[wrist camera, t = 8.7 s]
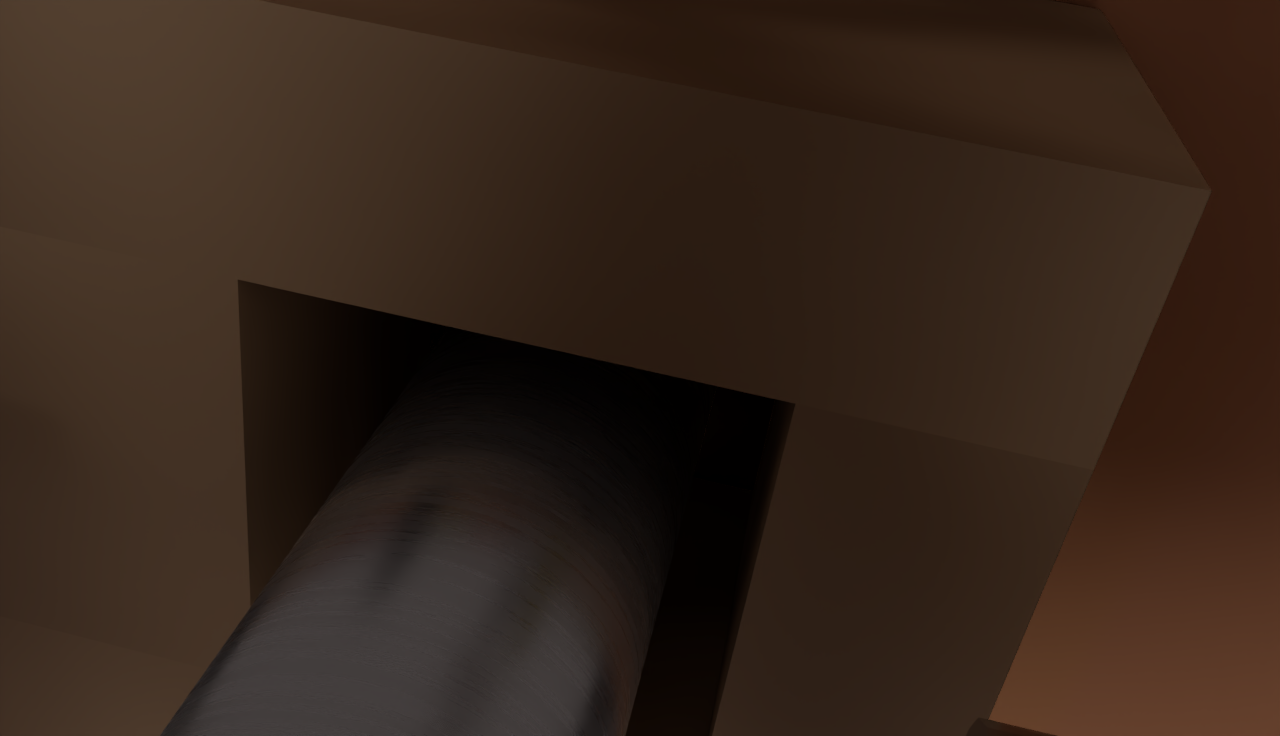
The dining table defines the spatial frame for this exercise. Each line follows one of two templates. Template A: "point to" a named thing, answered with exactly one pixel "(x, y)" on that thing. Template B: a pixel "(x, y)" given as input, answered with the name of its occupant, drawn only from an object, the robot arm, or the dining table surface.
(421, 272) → the block
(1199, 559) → the dining table surface
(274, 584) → the peg
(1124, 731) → the dining table surface
